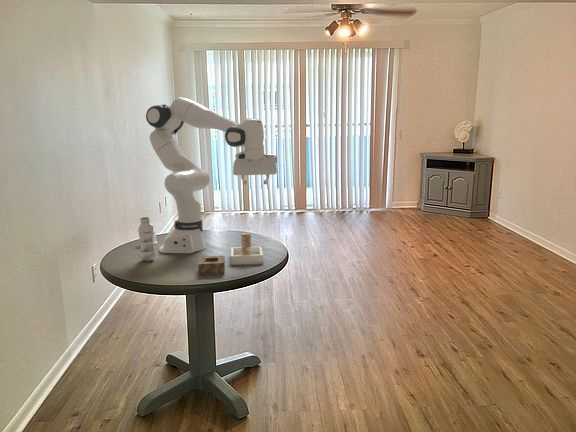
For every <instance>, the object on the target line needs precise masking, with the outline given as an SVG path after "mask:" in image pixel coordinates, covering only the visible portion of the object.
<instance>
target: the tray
mask: <svg viewBox="0 0 576 432" xmlns="http://www.w3.org/2000/svg"><path fill="white" fill-rule="evenodd" d="M230 250H231V251H230V263H231V266H237V265H239V266H240V265H242V264H243V265H262V264H264V253H263V249H262V246H258V245H257V246H251V255H242V246H235V247H233V246H232V247H231V248H230Z"/></svg>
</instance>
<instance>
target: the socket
mask: <svg viewBox="0 0 576 432" xmlns="http://www.w3.org/2000/svg"><path fill="white" fill-rule="evenodd" d="M225 262H226V261H225V255H211V256H210V255H209V256H200V257H199V260H198V263H197V264H198V276H199V277H200V276H220V275H221V276H223V275H225V269H226V263H225Z"/></svg>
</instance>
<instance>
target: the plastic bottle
mask: <svg viewBox="0 0 576 432" xmlns="http://www.w3.org/2000/svg"><path fill="white" fill-rule="evenodd" d="M139 220H140V225H139V226H138V230H137V231H138V235H139V241H140V243H139V244H140V251H139V258H140V259H139V260H141V261H142V262H151V261H154V260H155V257H156V252H155V250H154V249H155V248H154V244H153V227H152V226H151V225H150V224H151V223H150V217H145V216H144V217H140V219H139Z"/></svg>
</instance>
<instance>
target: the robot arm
mask: <svg viewBox="0 0 576 432" xmlns="http://www.w3.org/2000/svg"><path fill="white" fill-rule="evenodd" d="M145 119H146V121H147V123H148V124H149V126H151V127H152V128H154V130H153V131H151V133H150V134H149V141H150V144H151V146H152V149H153V150H154V152H155V155H157V157H158V158H159V161H160V162H161V164H162V165H163V166H164V167H165V169H166V170H168V171H171V172H172V173H170V174H168V175H167V176H166V177H165V179H164V188H165V190H166V191H167V193H169V194H170V195H171V196H172V197H173V199H174V201H175V203H176V208H177V216H178V219H175V220H174V223H173V224H174V229H172V230H171V231H170V232H169V233H168V234H166V235H165V237H164V240H163V244H162V245H160V246H159V252H160V253H161V254H193V253H195V252H199V251H203V250H204V249H206V248H207V246H206V243H205V239H204V235H203V234H204V233H203V229H204V224H203V219H202V206H201V204H200V202H199V201H197V200H196V199H195V196H194V194H193V192H198V191H201V190H203V189H205V188H206V187H208V186H209V184H210V175H209V173H208V172H207V170H205V169H203V168H201V167H199V166H197V165H196V164H195V163H194V162H192V160H190V158H188V157H187V155H185V154H184V152H183V150H182V149H181V148H180V146H179V145H178V143H177V142H176V140H175V138H174V137H173V136H175V135H176V134H177V133H178V132H179V130H181V128H182V127H183V125H184V123H185V124H187V125H189V126H191V127H193V128H196V129H210V130H211V129H212V130H217V131H218V130H219V131H222V132H224V138H225V139H224V140H225V142H226V143H227V145H228V146H229V147H234V148H240V147H244V150H242V151H239V152H238V153H235V155H234V156H235V157H234V158H235V160H234V161H233V164H232V165H233V166H232V168H233V169H232V173H233V175H234V176H240V178H241V180H242V184H243V186H247V180H245V179H244V177H245V176H258V175H259V176H260V175H261V176H262V175H264V176H266V179H264V180H263V185H267V184H268V180H269V178H270V175H276V174H277V173H278V170H277V169H278V168H277V167H278V166H277V163H278V157H277V155H275V154H274V153H273V154H268V153H265V146H264V140H265V133H264V124H263V122H262V120H260V119H258V118H252V117H251V118H250V117H249V118H248V117H247V118H245V119H244V120H243V121H241V122H240V123H238V122H235V121H233V120H231V119H229V118H227V117H224V116H223V115H220V114H218V113H217V112H215V111H213V110H211V109H209V108H208V107H206V106H204V105H202V104H201V103H199V102H196V101H194V100H193V99H190V98H186V97H183V96H179V97H176V98H175V99H173V101H172V103H171V104H170V105H167V104H158V105H153V106H150V107H149V108H148V109H147V110H146V113H145Z"/></svg>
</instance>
